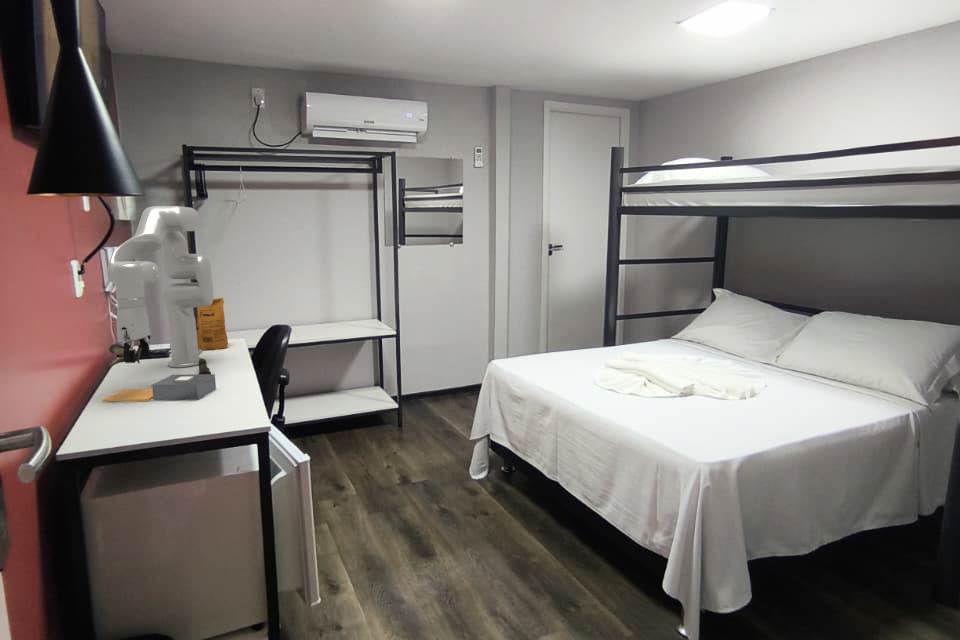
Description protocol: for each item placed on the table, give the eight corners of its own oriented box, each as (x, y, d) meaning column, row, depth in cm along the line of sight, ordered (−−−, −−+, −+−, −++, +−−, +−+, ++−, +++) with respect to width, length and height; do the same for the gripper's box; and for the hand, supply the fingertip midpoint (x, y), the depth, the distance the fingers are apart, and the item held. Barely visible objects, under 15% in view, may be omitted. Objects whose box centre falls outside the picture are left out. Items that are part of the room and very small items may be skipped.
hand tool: (211, 381, 205) (210, 368, 204) (198, 382, 203) (197, 369, 202) (210, 369, 222) (209, 357, 221) (199, 370, 220) (198, 358, 219)
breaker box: (174, 389, 194) (172, 374, 193) (216, 389, 193) (214, 374, 193) (153, 400, 182) (151, 384, 181) (198, 400, 182) (196, 384, 181)
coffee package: (197, 347, 259) (193, 297, 256) (228, 344, 264) (224, 296, 260) (196, 351, 250) (191, 300, 247) (228, 349, 255) (224, 298, 251)
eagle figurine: (141, 355, 189) (109, 353, 185) (142, 340, 185) (109, 337, 181) (138, 373, 184) (104, 371, 180) (139, 357, 180) (104, 355, 176)
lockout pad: (124, 391, 191) (124, 389, 191) (166, 391, 191) (166, 389, 191) (102, 401, 181) (102, 399, 181) (147, 401, 180) (147, 399, 180)
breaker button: (182, 388, 189) (181, 376, 189) (194, 388, 189) (193, 376, 189) (175, 392, 186) (174, 379, 185) (188, 392, 185) (187, 379, 185)
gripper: (136, 299, 190) (142, 353, 192) (101, 307, 172) (108, 366, 175) (159, 299, 189) (164, 353, 192) (126, 307, 172) (133, 366, 175)
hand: (137, 359), depth 184 cm, fingers closed on eagle figurine, 6 cm apart
